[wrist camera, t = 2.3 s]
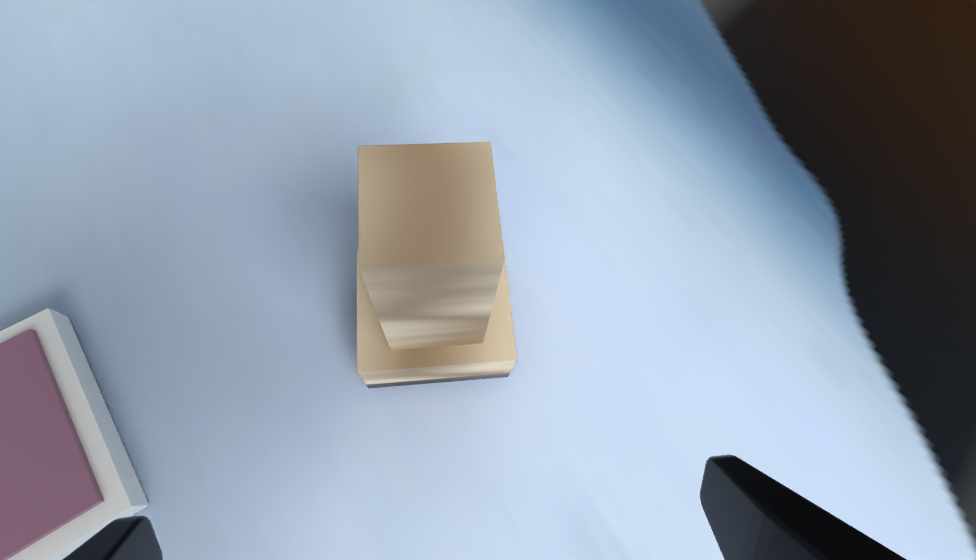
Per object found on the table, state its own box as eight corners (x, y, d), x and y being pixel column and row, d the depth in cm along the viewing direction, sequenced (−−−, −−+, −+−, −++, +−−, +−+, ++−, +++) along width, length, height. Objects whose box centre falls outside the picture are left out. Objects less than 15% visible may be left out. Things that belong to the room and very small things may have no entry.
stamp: (495, 272, 24) (532, 118, 14) (507, 376, 23) (559, 285, 12) (367, 280, 24) (309, 124, 14) (368, 388, 22) (303, 301, 12)
